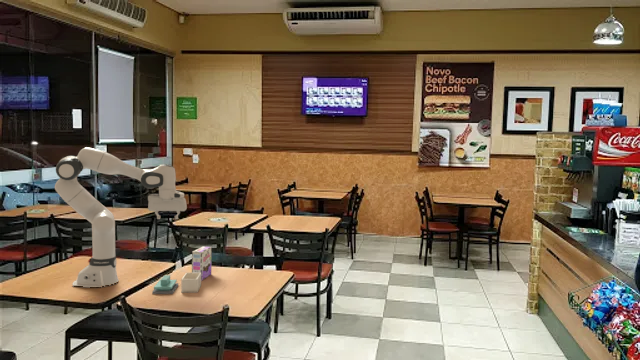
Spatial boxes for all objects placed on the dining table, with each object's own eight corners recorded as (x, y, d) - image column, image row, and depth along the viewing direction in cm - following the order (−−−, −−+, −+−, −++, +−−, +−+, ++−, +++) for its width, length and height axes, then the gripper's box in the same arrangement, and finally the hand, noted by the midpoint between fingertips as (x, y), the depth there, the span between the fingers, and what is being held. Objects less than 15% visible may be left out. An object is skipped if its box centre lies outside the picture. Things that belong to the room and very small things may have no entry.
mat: (152, 294, 242) (152, 291, 242) (159, 285, 256) (159, 283, 256) (172, 294, 243) (172, 291, 243) (178, 285, 257) (178, 283, 257)
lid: (153, 291, 243) (153, 281, 242) (160, 283, 255) (160, 274, 255) (171, 291, 244) (171, 281, 243) (176, 283, 256) (176, 274, 256)
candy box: (201, 281, 265) (201, 252, 264) (191, 280, 266) (191, 251, 265) (211, 274, 279) (211, 246, 277) (202, 273, 280) (202, 245, 278)
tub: (181, 292, 245) (181, 279, 245) (185, 285, 257) (185, 272, 257) (197, 292, 246) (197, 279, 245) (201, 285, 258) (201, 272, 257)
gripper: (146, 194, 259) (146, 219, 260) (185, 194, 261) (185, 220, 262) (149, 193, 265) (149, 217, 266) (187, 193, 267) (187, 218, 268)
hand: (167, 218), depth 264 cm, fingers open, 8 cm apart
